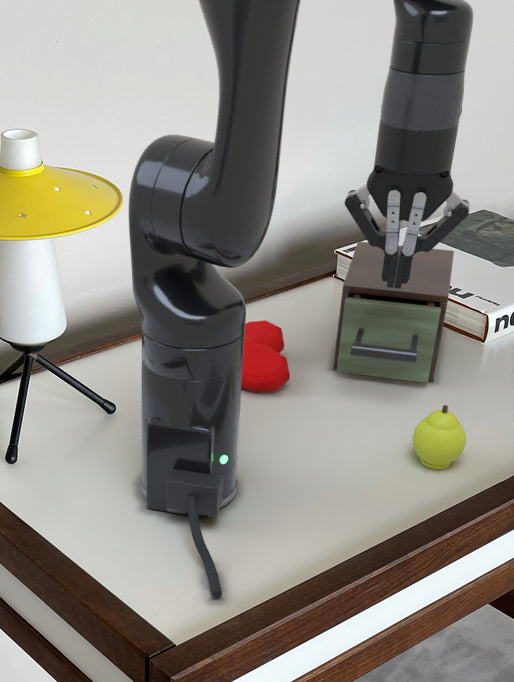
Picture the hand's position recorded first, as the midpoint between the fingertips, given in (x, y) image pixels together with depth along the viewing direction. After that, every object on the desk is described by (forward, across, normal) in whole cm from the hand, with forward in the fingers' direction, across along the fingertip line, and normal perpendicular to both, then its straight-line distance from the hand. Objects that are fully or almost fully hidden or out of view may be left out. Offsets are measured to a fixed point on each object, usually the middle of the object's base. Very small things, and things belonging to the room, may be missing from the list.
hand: (394, 285), depth 108 cm
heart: (+13, -16, +1) cm, 21 cm away
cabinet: (+13, 0, +12) cm, 17 cm away
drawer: (+12, 0, +6) cm, 14 cm away
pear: (+13, +7, -13) cm, 20 cm away
